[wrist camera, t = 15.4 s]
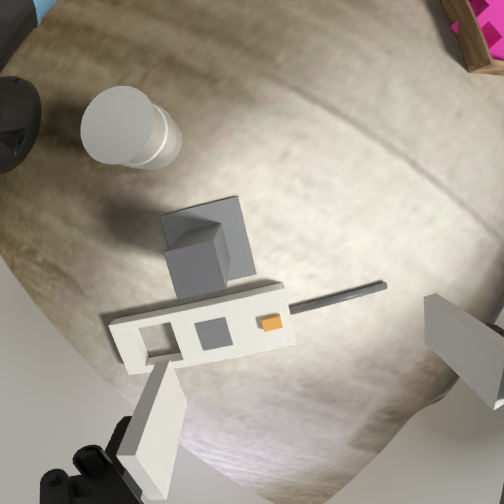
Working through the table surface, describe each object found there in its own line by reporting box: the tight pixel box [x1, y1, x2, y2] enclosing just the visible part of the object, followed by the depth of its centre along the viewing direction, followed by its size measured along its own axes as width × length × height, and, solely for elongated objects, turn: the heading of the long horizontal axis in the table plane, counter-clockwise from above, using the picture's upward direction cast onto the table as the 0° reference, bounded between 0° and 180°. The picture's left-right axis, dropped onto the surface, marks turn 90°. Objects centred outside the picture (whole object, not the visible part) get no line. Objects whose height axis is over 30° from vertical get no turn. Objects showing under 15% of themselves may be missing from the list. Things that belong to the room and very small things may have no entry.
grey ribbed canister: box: [81, 86, 182, 170], centre depth 31 cm, size 7×7×15 cm
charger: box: [164, 224, 230, 300], centre depth 35 cm, size 5×5×12 cm
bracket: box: [450, 0, 504, 61], centre depth 29 cm, size 12×10×10 cm
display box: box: [440, 0, 504, 76], centre depth 32 cm, size 14×16×6 cm
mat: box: [160, 196, 256, 281], centre depth 41 cm, size 10×10×1 cm
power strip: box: [109, 282, 387, 375], centre depth 42 cm, size 38×8×3 cm, turn 103°
